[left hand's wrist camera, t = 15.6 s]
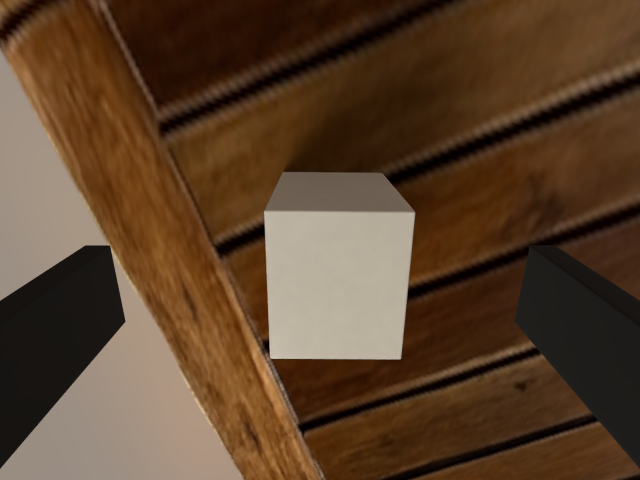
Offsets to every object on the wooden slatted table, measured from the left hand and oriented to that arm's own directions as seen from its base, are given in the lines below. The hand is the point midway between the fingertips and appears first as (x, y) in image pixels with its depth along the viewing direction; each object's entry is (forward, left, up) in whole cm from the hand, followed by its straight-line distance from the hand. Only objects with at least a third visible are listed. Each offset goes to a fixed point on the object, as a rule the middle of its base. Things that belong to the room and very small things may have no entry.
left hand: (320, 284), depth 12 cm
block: (0, +3, -14) cm, 14 cm away
